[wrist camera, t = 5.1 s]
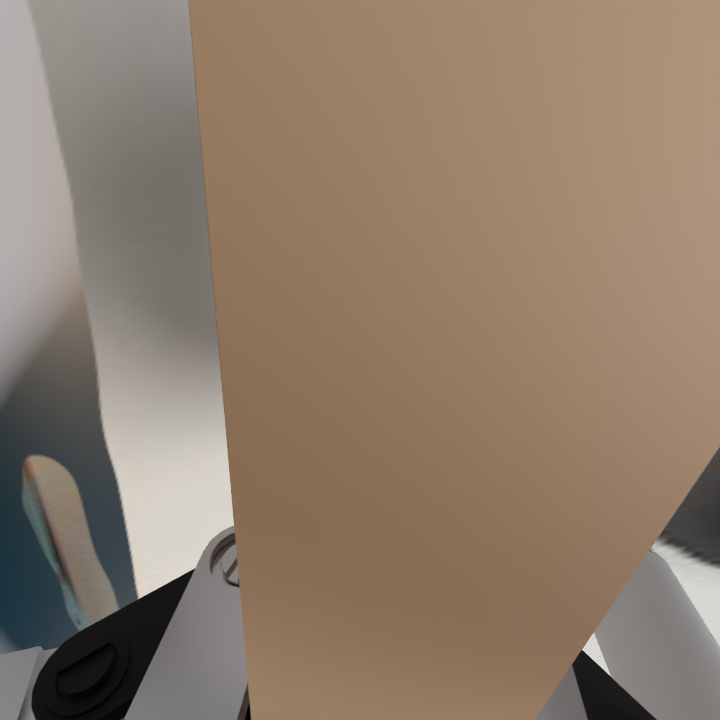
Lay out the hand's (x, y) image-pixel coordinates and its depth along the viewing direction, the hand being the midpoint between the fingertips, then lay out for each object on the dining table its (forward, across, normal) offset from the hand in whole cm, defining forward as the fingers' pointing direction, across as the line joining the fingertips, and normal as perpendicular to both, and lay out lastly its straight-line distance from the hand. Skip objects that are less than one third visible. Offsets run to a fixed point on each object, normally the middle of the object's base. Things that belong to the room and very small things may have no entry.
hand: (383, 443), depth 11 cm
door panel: (+4, 0, 0) cm, 4 cm away
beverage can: (+13, -19, +20) cm, 31 cm away
